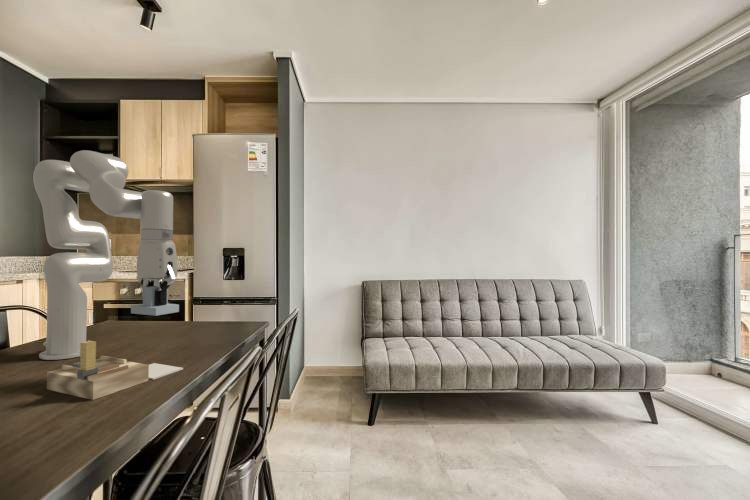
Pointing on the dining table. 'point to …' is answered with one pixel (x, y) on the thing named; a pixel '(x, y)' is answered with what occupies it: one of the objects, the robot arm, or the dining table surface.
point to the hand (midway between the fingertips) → (155, 304)
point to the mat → (161, 370)
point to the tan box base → (98, 378)
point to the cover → (153, 304)
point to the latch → (86, 360)
